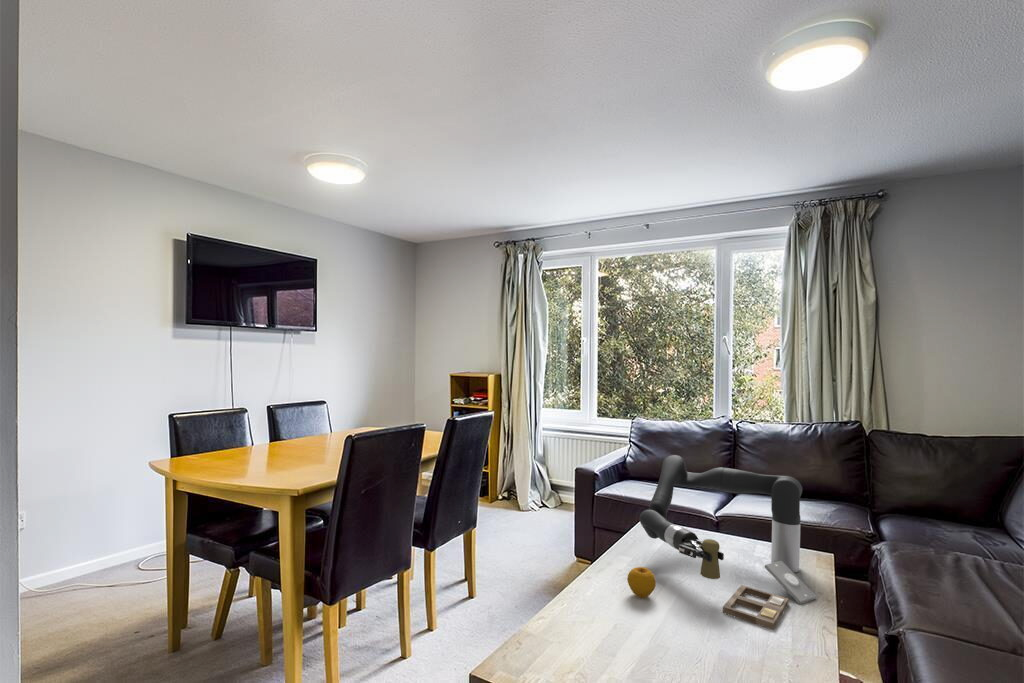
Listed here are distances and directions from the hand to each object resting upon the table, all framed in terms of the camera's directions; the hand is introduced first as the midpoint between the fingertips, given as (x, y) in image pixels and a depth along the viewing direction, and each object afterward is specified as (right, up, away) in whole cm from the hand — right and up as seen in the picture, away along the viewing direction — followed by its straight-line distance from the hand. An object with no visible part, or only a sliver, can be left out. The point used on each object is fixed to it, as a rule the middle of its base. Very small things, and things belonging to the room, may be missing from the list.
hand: (716, 557), depth 163 cm
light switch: (+27, -15, +8) cm, 32 cm away
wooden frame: (+11, -14, -3) cm, 18 cm away
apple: (-23, -13, +2) cm, 27 cm away
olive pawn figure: (-1, -7, +2) cm, 7 cm away
